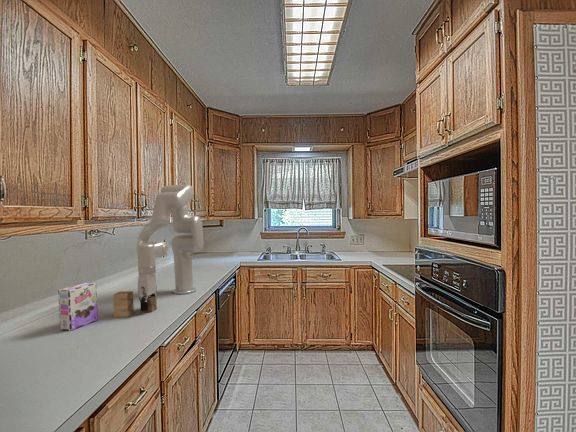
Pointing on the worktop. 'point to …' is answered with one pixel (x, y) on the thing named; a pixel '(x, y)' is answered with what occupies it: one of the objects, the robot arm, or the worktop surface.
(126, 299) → the tower top
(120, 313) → the tower base
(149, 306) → the walnut cube
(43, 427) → the worktop surface
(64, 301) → the candy box
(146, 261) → the robot arm
